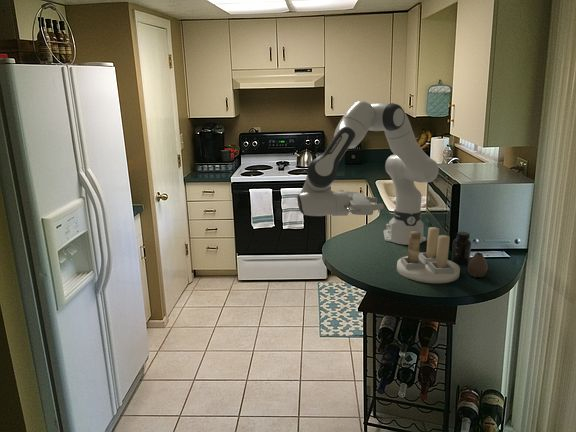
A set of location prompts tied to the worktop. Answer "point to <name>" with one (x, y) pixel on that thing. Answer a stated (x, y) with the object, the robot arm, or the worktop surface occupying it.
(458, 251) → the supplement bottle
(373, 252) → the worktop surface
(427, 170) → the robot arm
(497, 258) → the worktop surface
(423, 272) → the stool seat
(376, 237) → the worktop surface
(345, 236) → the worktop surface
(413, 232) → the stool leg
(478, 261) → the vase
